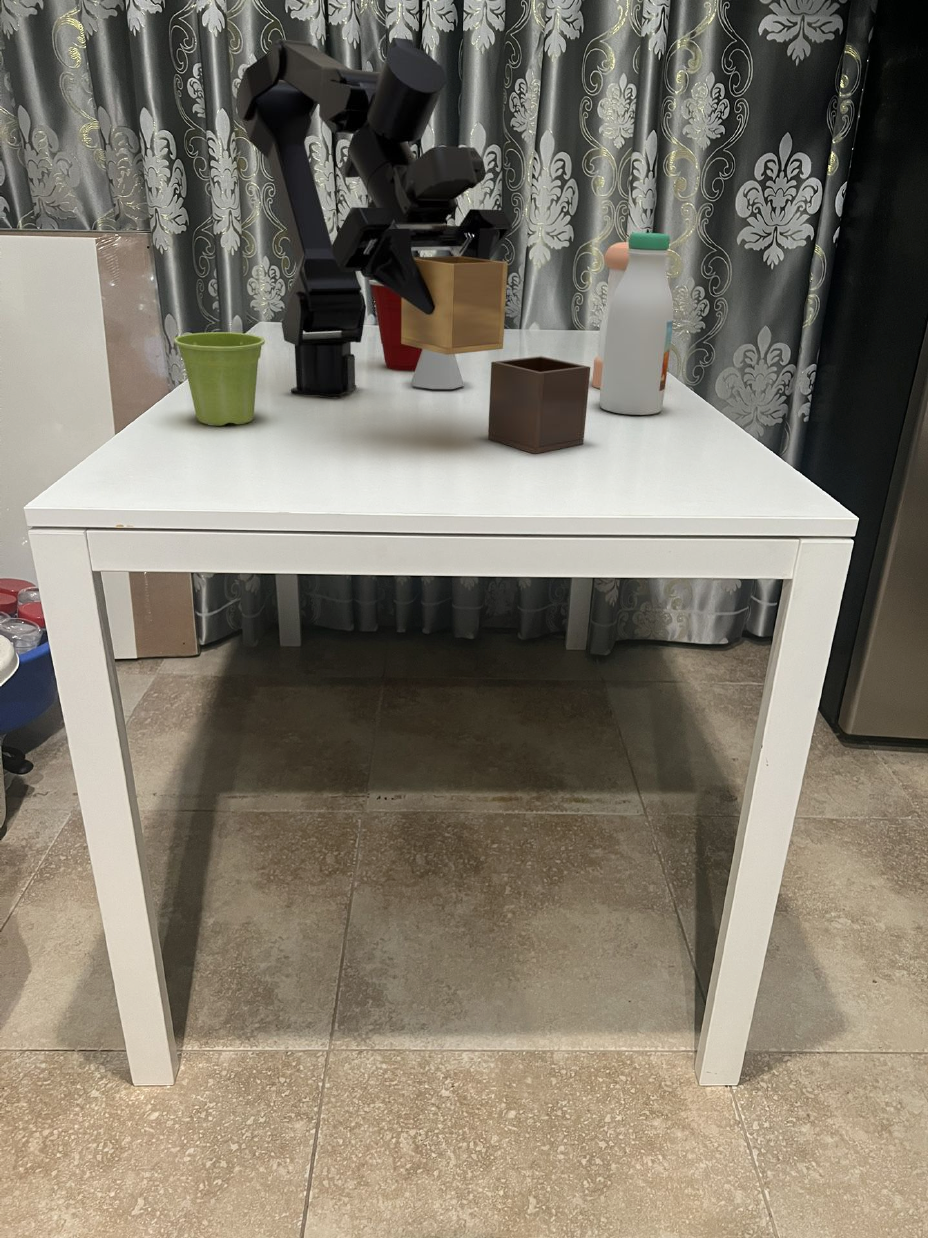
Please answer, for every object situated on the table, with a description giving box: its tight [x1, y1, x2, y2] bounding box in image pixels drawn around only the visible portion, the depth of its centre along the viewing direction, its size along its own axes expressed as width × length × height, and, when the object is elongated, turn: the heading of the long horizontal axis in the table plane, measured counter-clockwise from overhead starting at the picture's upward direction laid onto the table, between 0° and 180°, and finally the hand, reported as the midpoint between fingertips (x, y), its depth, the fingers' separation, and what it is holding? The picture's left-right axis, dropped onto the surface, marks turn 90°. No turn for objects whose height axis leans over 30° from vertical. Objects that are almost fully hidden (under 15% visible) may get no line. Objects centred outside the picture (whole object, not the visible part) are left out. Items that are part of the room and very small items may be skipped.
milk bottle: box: [599, 232, 674, 416], centre depth 107 cm, size 8×8×20 cm
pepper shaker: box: [591, 236, 629, 390], centre depth 120 cm, size 7×7×19 cm
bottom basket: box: [487, 355, 591, 455], centre depth 94 cm, size 7×7×8 cm
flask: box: [410, 349, 465, 390], centre depth 119 cm, size 7×7×10 cm
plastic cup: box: [368, 279, 422, 372], centre depth 130 cm, size 11×11×12 cm
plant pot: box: [173, 331, 266, 427], centre depth 98 cm, size 9×9×9 cm
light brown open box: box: [401, 255, 509, 355], centre depth 88 cm, size 7×7×8 cm
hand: (461, 309), depth 87 cm, fingers closed on light brown open box, 7 cm apart
